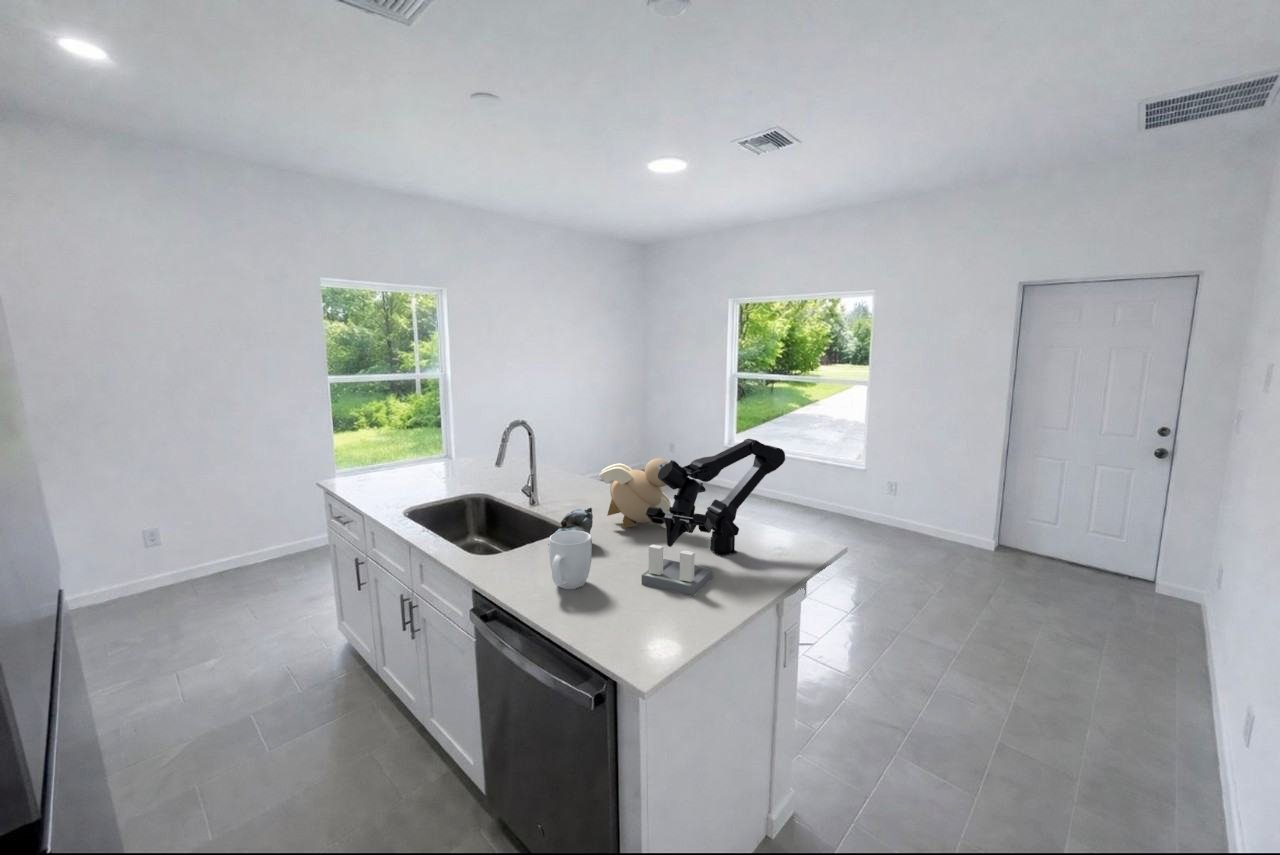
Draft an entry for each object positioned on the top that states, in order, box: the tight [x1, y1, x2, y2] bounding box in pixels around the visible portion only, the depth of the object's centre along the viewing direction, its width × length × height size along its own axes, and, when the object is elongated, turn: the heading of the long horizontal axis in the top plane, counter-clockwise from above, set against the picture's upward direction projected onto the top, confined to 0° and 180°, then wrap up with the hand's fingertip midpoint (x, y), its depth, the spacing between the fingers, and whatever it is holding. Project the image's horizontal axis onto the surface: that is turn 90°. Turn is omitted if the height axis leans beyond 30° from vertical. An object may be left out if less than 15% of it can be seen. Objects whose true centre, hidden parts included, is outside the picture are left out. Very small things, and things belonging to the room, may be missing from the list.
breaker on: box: [679, 550, 696, 582], centre depth 138 cm, size 2×3×7 cm, turn 60°
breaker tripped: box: [648, 543, 664, 575], centre depth 143 cm, size 2×3×7 cm, turn 60°
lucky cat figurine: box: [547, 507, 594, 546], centre depth 171 cm, size 15×12×14 cm
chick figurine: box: [598, 457, 672, 529], centre depth 191 cm, size 30×28×23 cm
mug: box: [548, 530, 593, 590], centre depth 140 cm, size 15×11×13 cm
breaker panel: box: [641, 558, 714, 597], centre depth 145 cm, size 13×15×3 cm
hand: (669, 546), depth 149 cm, fingers closed
